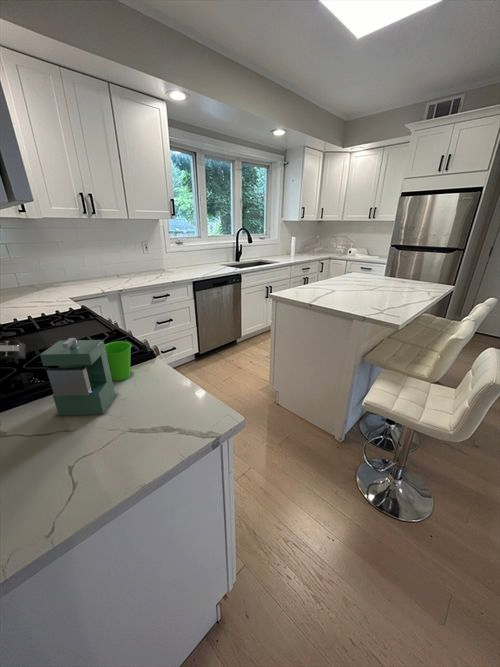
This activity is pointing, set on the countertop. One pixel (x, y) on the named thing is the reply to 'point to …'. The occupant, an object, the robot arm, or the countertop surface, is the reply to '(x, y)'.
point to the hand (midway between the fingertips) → (21, 352)
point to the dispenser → (97, 370)
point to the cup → (119, 359)
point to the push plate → (69, 381)
